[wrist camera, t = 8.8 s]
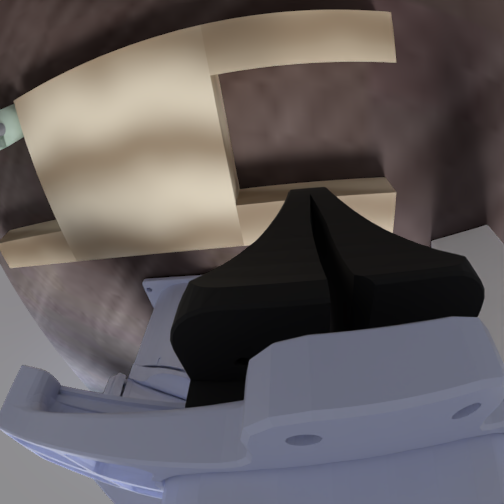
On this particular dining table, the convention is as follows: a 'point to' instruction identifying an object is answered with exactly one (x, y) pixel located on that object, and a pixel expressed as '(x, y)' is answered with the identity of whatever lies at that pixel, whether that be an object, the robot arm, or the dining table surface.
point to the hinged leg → (9, 127)
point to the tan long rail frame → (175, 140)
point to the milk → (483, 273)
